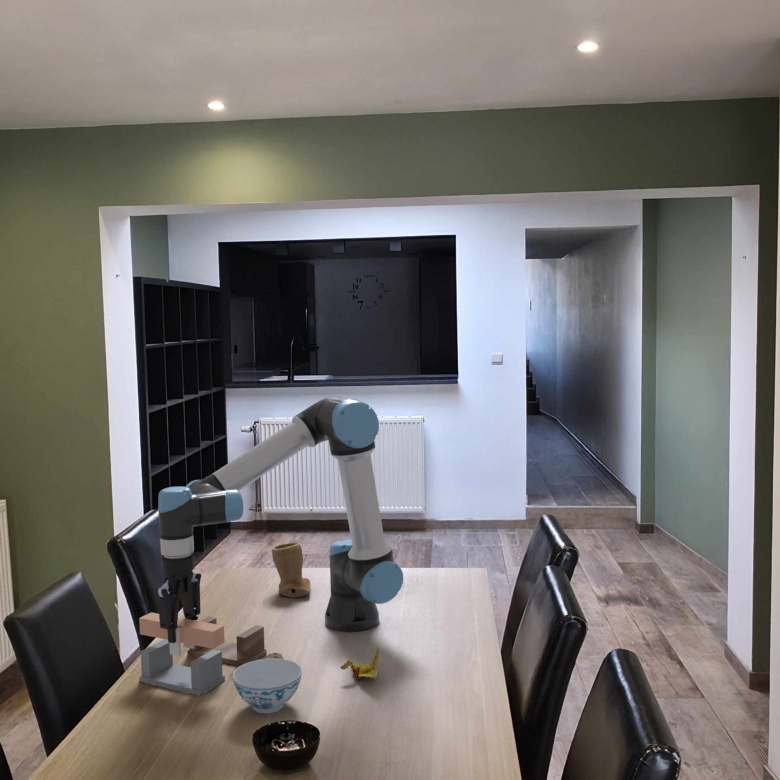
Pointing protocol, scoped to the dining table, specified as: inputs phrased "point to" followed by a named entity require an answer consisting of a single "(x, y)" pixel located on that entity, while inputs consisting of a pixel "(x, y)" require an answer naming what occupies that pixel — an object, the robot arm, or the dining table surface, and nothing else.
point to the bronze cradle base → (236, 646)
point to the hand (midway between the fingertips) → (182, 650)
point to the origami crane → (363, 667)
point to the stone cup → (290, 569)
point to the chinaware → (267, 683)
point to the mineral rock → (273, 656)
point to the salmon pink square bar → (185, 631)
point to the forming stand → (180, 670)
